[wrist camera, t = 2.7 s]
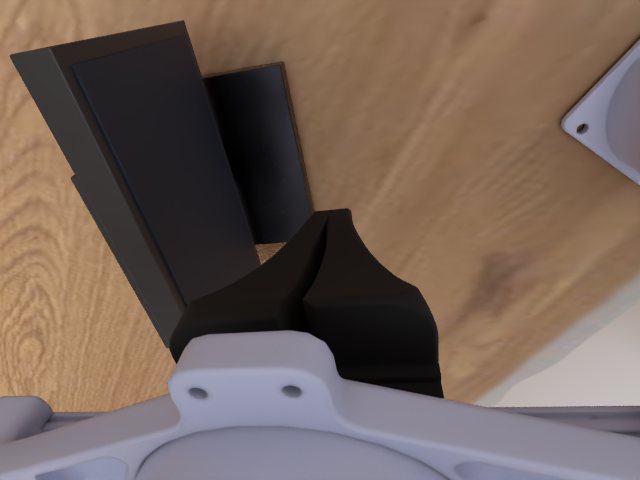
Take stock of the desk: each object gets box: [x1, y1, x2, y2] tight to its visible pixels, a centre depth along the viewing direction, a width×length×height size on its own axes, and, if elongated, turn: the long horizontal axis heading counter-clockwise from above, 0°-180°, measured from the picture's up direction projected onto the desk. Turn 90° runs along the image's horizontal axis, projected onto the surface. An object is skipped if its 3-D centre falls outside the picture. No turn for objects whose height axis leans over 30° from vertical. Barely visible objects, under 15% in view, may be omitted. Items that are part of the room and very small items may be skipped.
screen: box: [10, 21, 261, 348], centre depth 17 cm, size 2×15×8 cm, turn 10°
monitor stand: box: [202, 62, 314, 245], centre depth 21 cm, size 9×10×4 cm
